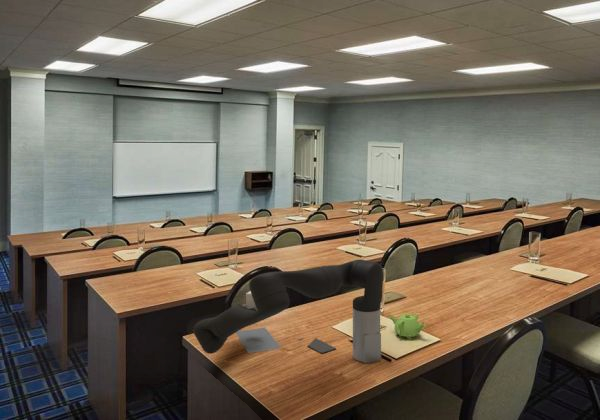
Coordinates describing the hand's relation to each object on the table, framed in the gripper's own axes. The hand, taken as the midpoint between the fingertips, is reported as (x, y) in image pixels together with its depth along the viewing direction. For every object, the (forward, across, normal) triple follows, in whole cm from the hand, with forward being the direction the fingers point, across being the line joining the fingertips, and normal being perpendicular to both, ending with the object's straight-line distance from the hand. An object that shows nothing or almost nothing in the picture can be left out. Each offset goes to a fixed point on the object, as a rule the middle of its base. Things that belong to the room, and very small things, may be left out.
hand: (258, 305), depth 178 cm
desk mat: (-2, 0, -13) cm, 13 cm away
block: (-2, 0, +6) cm, 6 cm away
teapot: (+23, +52, -12) cm, 58 cm away
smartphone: (+2, +23, -13) cm, 26 cm away
